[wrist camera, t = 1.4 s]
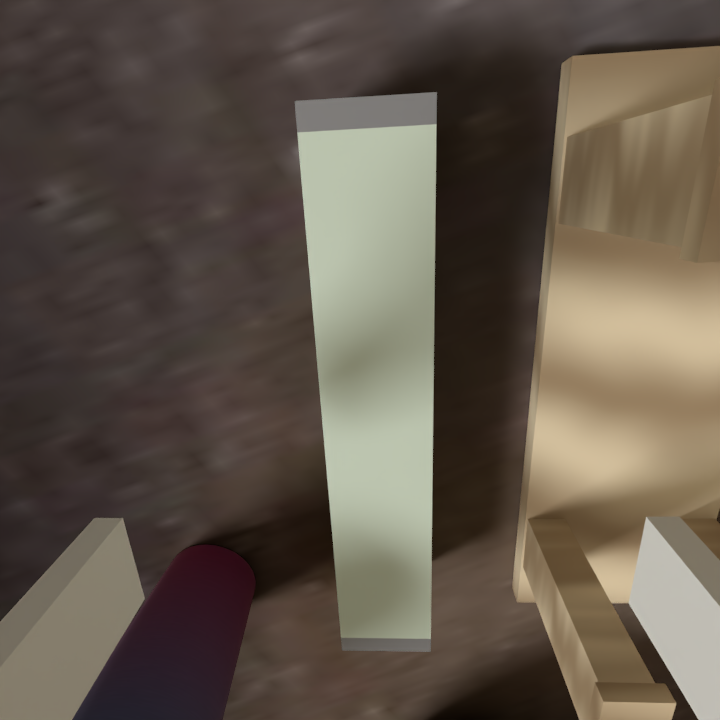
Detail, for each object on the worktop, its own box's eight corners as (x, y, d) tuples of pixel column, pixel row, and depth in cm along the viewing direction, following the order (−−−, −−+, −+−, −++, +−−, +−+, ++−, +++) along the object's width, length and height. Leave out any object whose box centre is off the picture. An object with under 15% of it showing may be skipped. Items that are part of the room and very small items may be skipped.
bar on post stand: (559, 63, 16) (772, -92, 7) (829, 45, 16) (1423, -148, 7) (510, 586, 25) (580, 807, 16) (682, 587, 24) (855, 818, 15)
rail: (318, 124, 17) (294, 100, 13) (422, 118, 17) (436, 92, 12) (349, 564, 25) (342, 650, 20) (421, 565, 25) (430, 651, 20)
